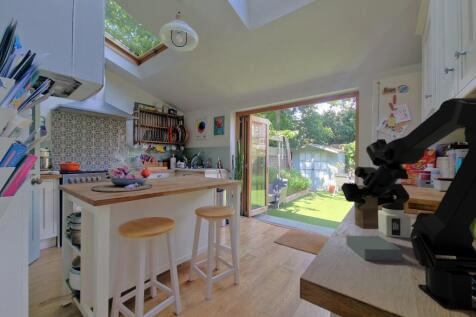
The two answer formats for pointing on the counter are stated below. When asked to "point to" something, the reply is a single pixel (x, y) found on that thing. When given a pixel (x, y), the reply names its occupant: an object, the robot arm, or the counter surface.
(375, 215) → the post
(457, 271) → the robot arm
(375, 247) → the plinth
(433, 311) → the counter surface
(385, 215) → the container
